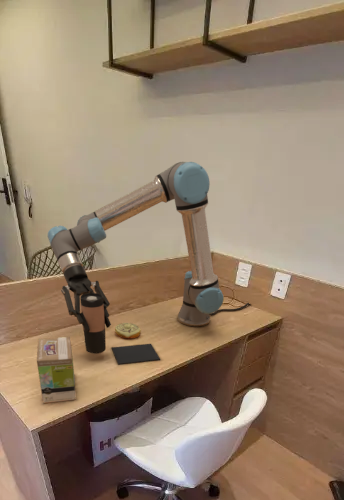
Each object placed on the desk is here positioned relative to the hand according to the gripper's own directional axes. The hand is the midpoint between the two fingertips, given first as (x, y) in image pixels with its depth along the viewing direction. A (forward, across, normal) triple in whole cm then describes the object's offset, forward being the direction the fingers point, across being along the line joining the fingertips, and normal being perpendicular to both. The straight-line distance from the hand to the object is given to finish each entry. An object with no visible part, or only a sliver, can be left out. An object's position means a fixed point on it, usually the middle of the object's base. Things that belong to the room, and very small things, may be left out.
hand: (98, 328), depth 118 cm
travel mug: (+4, 0, -9) cm, 10 cm away
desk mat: (+11, -14, -7) cm, 19 cm away
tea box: (+15, +20, -3) cm, 25 cm away
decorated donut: (-1, -21, -19) cm, 28 cm away
